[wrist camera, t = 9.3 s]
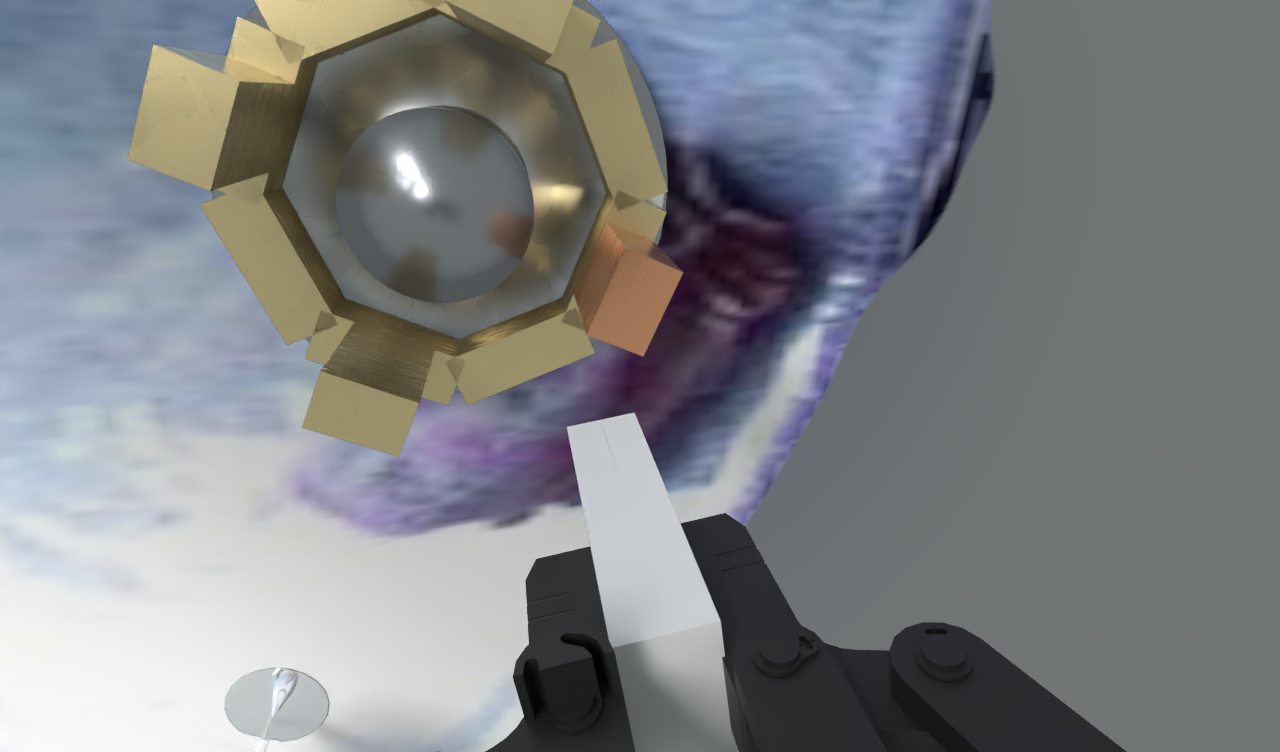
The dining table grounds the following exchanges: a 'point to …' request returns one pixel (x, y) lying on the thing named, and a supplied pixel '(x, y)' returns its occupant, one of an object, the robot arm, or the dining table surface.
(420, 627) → the dining table surface
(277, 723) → the wineglass
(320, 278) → the gold crown
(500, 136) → the silver round piece
